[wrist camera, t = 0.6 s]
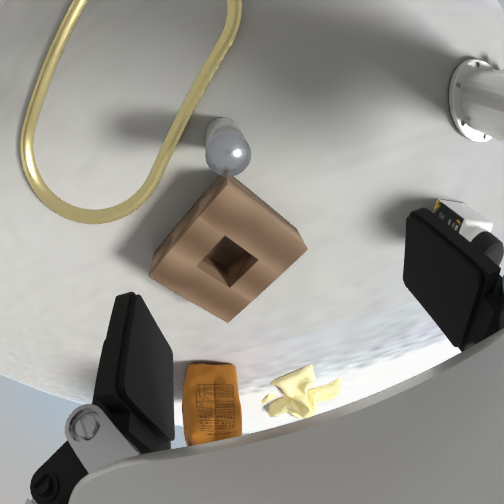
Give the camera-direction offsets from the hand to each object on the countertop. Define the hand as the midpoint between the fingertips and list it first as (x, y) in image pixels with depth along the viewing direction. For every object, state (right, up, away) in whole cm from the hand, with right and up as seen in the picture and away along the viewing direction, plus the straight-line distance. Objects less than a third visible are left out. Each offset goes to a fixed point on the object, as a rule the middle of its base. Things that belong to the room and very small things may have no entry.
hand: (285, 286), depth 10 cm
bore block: (-5, +2, +30) cm, 30 cm away
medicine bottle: (+29, +6, +33) cm, 44 cm away
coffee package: (-9, -22, +44) cm, 50 cm away
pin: (-4, +14, +23) cm, 27 cm away
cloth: (+8, -30, +52) cm, 61 cm away
